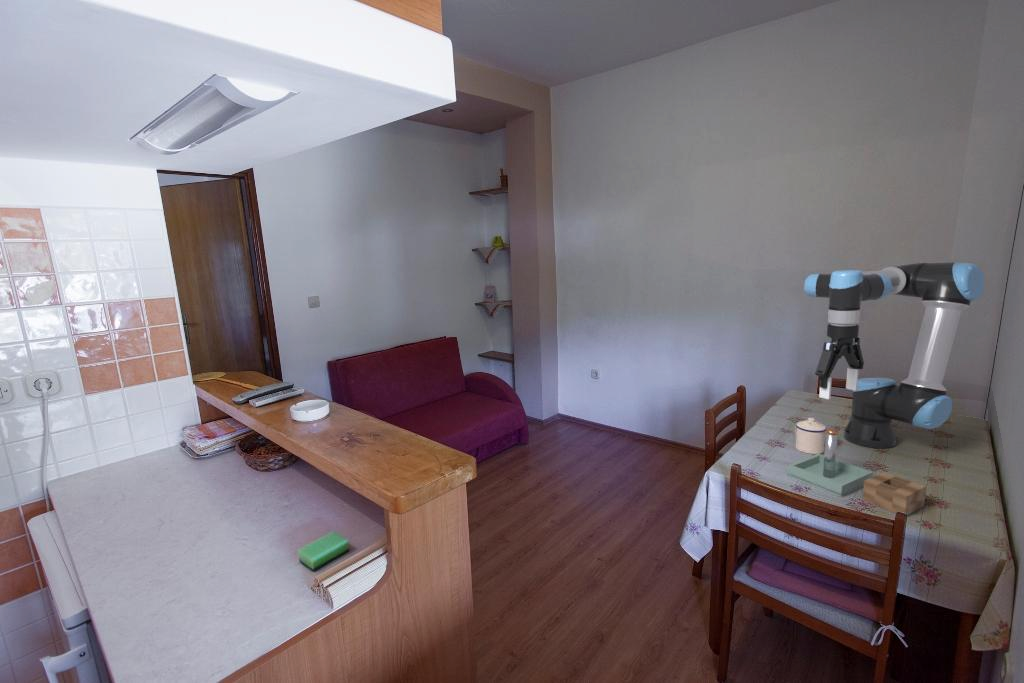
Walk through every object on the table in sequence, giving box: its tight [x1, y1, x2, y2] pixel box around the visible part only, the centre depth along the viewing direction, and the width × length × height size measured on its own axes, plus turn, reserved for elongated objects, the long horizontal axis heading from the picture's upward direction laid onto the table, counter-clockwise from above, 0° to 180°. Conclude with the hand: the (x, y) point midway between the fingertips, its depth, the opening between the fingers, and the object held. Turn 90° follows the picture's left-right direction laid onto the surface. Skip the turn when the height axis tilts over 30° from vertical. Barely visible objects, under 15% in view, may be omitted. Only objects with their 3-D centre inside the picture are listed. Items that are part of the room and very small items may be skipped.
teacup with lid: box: [794, 417, 828, 455], centre depth 165 cm, size 12×9×12 cm
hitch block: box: [861, 471, 927, 517], centre depth 128 cm, size 10×10×6 cm
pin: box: [823, 427, 839, 478], centre depth 142 cm, size 3×3×15 cm
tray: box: [786, 453, 874, 498], centre depth 144 cm, size 16×16×4 cm
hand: (838, 393), depth 139 cm, fingers open, 13 cm apart
